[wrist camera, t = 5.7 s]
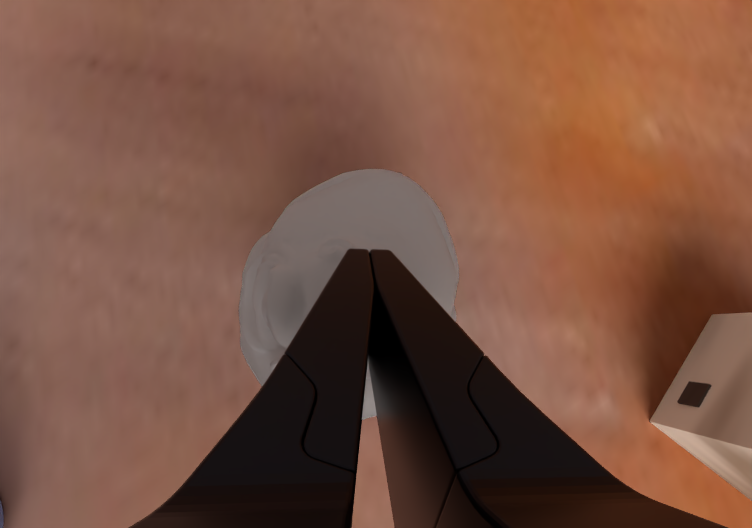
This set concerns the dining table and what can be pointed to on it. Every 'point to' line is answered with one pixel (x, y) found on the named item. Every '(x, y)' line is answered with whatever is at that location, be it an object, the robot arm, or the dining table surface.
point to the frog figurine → (339, 257)
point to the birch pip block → (715, 400)
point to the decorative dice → (1, 516)
